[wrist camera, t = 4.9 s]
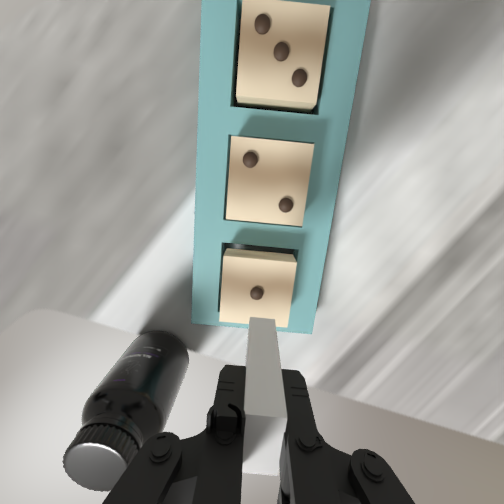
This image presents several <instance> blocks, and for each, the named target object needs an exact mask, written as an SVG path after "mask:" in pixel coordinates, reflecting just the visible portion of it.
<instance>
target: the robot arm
mask: <svg viewBox="0 0 504 504" xmlns="http://www.w3.org/2000/svg"><path fill="white" fill-rule="evenodd" d="M279 467H280V480H281V482H280V488H279V494H278V500H277V504H415V503H414V501H413V500H412V498H411V497H410V495H409V494H408V493H407V491H406V489H405V488H404V486H403V485H402V484H401V482H400V481H399V479H398V478H397V476H396V475H395V473H394V472H393V470H392V469H391V467H390V466H389V465H388V464H387V462H386V461H385V460H384V459H383V458H382V457H381V456H379V455H378V454H376V453H375V452H373V451H370V450H368V449H358V450H356V451H354V452H353V454H352V456H351V455H349V454H346V453H344V452H342V451H339V450H337V449H335V448H333V447H331V446H330V445H328V444H327V443H326V442H325V441H324V439H323V437H322V436H321V435H320V434H319V432H318V430H317V428H316V424H315V419H314V415H313V411H312V407H311V403H310V399H309V394H308V391H307V386H306V382H305V379H304V377H303V376H302V375H301V373H300V372H299V371H297V370H287V369H281V363H280V355H279V347H278V340H277V332H276V324H275V319H268V318H257V317H250V319H249V329H248V339H247V349H246V361H245V366H235V365H225V367H224V368H223V369H222V370H221V371H220V374H219V379H218V385H217V390H216V395H215V400H214V405H213V406H212V407H211V408H210V409H209V412H208V414H207V425H206V429H205V430H204V431H202V432H201V433H200V434H198V435H196V436H193V437H190V438H186V439H182V440H180V439H179V437H178V436H177V435H175V434H173V433H170V432H162V433H157V434H155V435H154V436H152V437H150V438H149V439H148V440H147V441H146V442H145V443H144V444H143V445H142V447H141V448H140V450H139V451H138V453H137V454H136V455H135V457H134V458H133V460H132V461H131V463H130V464H129V466H128V467H127V468H126V470H125V471H124V473H123V474H122V476H121V477H120V479H119V480H118V481H117V483H116V484H115V486H114V487H113V489H112V490H111V491H110V493H109V494H108V496H107V497H106V499H105V500H104V502H103V503H102V504H241V503H240V502H241V483H242V473H252V474H264V475H275V476H278V473H279Z"/></svg>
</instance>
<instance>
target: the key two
mask: <svg viewBox="0 0 504 504" xmlns="http://www.w3.org/2000/svg"><path fill="white" fill-rule="evenodd" d="M313 150H314V144H309V143H298V142H288V141H278V140H268V139H258V138H247V137H237V136H231V148H230V164H229V179H228V194H227V209H226V219H230V220H241V221H252V222H262V223H273V224H283V225H294V226H302V225H303V218H304V211H305V205H306V198H307V191H308V184H309V177H310V170H311V164H312V157H313Z"/></svg>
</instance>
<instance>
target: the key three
mask: <svg viewBox="0 0 504 504" xmlns="http://www.w3.org/2000/svg"><path fill="white" fill-rule="evenodd" d="M329 12H330V6H329V5H319V4H310V3H300V2H291V1H281V0H242V14H241V29H240V44H239V59H238V74H237V88H236V98H237V102H238V105H239V106H249V107H259V108H269V109H279V110H289V111H299V112H309V113H310V111H311V110H312V109H313V107H314V106H315V105H316V102H317V95H318V88H319V81H320V74H321V68H322V61H323V54H324V47H325V40H326V33H327V26H328V19H329Z"/></svg>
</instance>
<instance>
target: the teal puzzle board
mask: <svg viewBox="0 0 504 504" xmlns="http://www.w3.org/2000/svg"><path fill="white" fill-rule="evenodd" d="M281 1H291V2H300V3H310V4H319V5H329V6H330V12H329V19H328V26H327V33H326V40H325V47H324V54H323V61H322V68H321V74H320V81H319V88H318V95H317V102H316V105H315V106H314V111H313V115H311V114H301V113H291V112H281V111H271V110H260V109H250V108H240V107H233V106H234V91H235V76H236V60H237V45H238V30H239V19H241V14H242V0H202V10H201V40H200V71H199V101H198V132H197V162H196V193H195V224H194V254H193V285H192V315H191V323H193V324H204V325H215V326H226V327H237V328H249V324H242V323H231V322H219V316H220V301H221V286H222V271H223V256H224V243H235V244H246V245H256V246H267V247H278V248H288V249H294V252H293V256H294V258H295V260H296V262H297V266H296V273H295V280H294V286H293V293H292V300H291V307H290V314H289V320H288V327H287V328H286V327H276V331H282V332H293V333H304V334H312V331H313V325H314V319H315V314H316V308H317V302H318V297H319V291H320V285H321V280H322V274H323V268H324V263H325V257H326V251H327V246H328V240H329V234H330V229H331V223H332V218H333V212H334V206H335V201H336V195H337V189H338V184H339V178H340V172H341V167H342V161H343V155H344V150H345V144H346V138H347V133H348V127H349V121H350V116H351V110H352V104H353V99H354V93H355V87H356V82H357V76H358V71H359V65H360V59H361V54H362V48H363V42H364V37H365V31H366V25H367V20H368V14H369V8H370V3H371V0H281ZM231 136H237V137H247V138H258V139H268V140H278V141H288V142H298V143H309V144H314V150H313V157H312V164H311V170H310V177H309V184H308V191H307V198H306V205H305V211H304V218H303V225H302V226H294V225H283V224H273V223H262V222H252V221H241V220H230V219H226V209H227V194H228V179H229V164H230V148H231Z"/></svg>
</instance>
